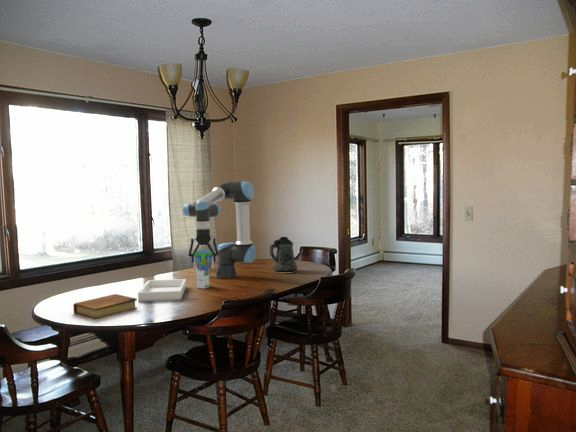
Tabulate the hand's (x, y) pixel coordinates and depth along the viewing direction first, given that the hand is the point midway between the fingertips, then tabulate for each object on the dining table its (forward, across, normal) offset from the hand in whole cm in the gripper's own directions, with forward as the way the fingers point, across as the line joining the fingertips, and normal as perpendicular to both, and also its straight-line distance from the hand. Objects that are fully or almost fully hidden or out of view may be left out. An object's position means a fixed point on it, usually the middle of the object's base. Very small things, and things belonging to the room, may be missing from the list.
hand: (203, 267), depth 260 cm
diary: (+16, -48, -26) cm, 56 cm away
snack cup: (+1, 0, 0) cm, 1 cm away
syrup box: (+16, -1, +20) cm, 26 cm away
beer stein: (+16, +54, +60) cm, 82 cm away
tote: (+15, -23, +6) cm, 29 cm away
